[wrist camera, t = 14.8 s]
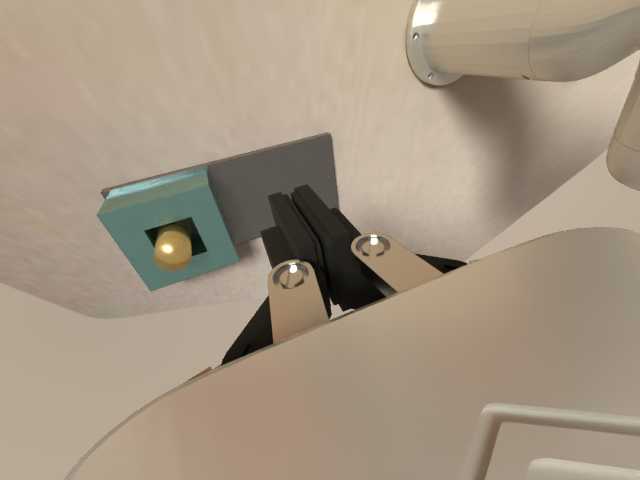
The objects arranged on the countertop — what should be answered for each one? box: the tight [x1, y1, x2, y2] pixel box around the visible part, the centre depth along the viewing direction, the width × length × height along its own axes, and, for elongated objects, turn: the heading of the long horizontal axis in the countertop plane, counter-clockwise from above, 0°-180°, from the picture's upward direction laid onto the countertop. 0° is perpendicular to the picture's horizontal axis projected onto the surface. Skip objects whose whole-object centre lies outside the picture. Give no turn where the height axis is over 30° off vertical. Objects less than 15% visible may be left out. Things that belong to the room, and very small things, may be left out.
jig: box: [97, 132, 339, 291], centre depth 36 cm, size 28×12×6 cm, turn 98°
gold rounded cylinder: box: [153, 217, 192, 271], centre depth 33 cm, size 4×4×8 cm
